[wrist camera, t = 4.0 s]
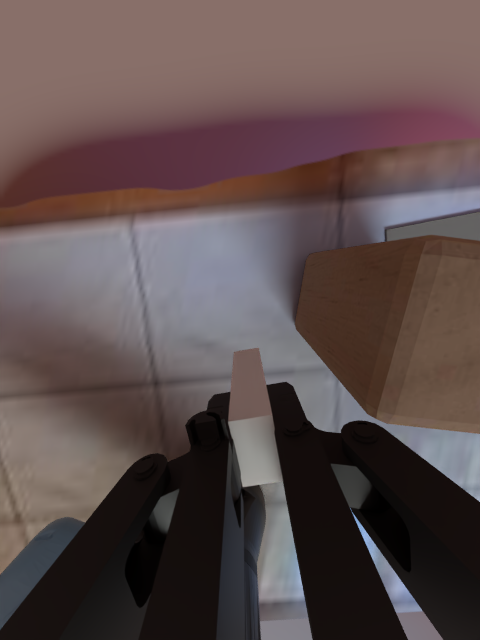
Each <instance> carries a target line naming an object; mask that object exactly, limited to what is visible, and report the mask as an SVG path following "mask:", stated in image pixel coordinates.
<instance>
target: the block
mask: <svg viewBox="0 0 480 640" xmlns="http://www.w3.org/2000/svg"><path fill="white" fill-rule="evenodd" d="M295 326H296V330H297V331H298V332H299V333H300V334H301V336H302V337H303V338H304V339H305V340H306V342H307V343H308V344H309V345H310V346H311V348H312V349H313V350H314V351H315V352H316V353H317V355H318V356H319V357H320V358H321V359H322V361H323V362H324V363H325V364H326V365H327V367H328V368H329V369H330V370H331V371H332V372H333V374H334V375H335V376H336V377H337V378H338V380H339V381H340V382H341V383H342V384H343V386H344V387H345V388H346V389H347V390H348V391H349V393H350V394H351V395H352V396H353V397H354V399H355V400H356V401H357V402H358V403H359V405H360V406H361V407H362V408H363V409H364V410H365V412H366V413H367V414H368V415H370V416H372V417H374V418H375V419H378V420H380V421H382V422H385V423H387V424H396V425H405V426H414V427H423V428H432V429H441V430H450V431H460V432H469V433H478V434H480V241H477V240H469V239H462V238H454V237H446V236H438V235H426V236H419V237H413V238H406V239H400V240H393V241H387V242H380V243H374V244H367V245H361V246H355V247H348V248H342V249H335V250H329V251H322V252H316V253H312V254H309V256H308V258H307V259H306V264H305V269H304V275H303V281H302V286H301V292H300V298H299V303H298V309H297V315H296V320H295Z"/></svg>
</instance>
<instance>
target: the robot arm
mask: <svg viewBox="0 0 480 640" xmlns="http://www.w3.org/2000/svg"><path fill="white" fill-rule="evenodd" d="M185 426H186V430H187V433H188V437H189V441H190V444H191V448H190V452H188V453H187V454H185V455H183V456H181V457H179V458H176V459H174V460H171V461H169V462H167V459H166V457H165V456H164V455H162V454H158V453H157V454H150V455H147V456H145V457H142V458H141V459H139V460H138V461H136V462H135V463H134V464H133V465H132V466H131V467H130V468H129V469H128V470H127V471H126V472H125V474H124V475H123V476H122V477H121V479H120V480H119V481H118V482H117V484H116V485H115V486H114V487H113V489H112V490H111V491H110V492H109V494H108V495H107V496H106V498H105V499H104V500H103V501H102V503H101V504H100V505H99V506H98V508H97V509H96V510H95V511H94V513H93V514H92V515H91V516H90V518H89V519H88V520H87V521H86V523H85V522H82V521H80V520H77V519H74V518H71V517H64V518H60V519H57V520H55V521H53V522H52V523H50V524H49V525H47V526H46V527H45V528H44V529H43V530H41V531H40V532H39V533H38V534H37V535H36V536H35V537H34V538H33V539H32V540H31V542H30V543H29V544H28V545H27V546H26V547H25V548H24V549H23V550H22V551H21V552H20V553H19V555H18V556H17V557H16V558H15V559H14V560H13V561H12V562H11V563H10V564H9V566H8V567H7V568H6V569H5V570H4V571H3V572H2V573H1V575H0V640H261V632H260V614H259V596H258V580H257V561H258V556H259V551H260V546H261V542H262V537H263V532H264V528H265V522H266V512H265V501H264V496H263V493H262V491H261V489H260V488H259V486H258V485H261V484H268V483H275V482H282V481H283V484H284V489H285V495H286V500H287V506H288V512H289V516H290V522H291V527H292V532H293V538H294V543H295V548H296V554H297V559H298V564H299V570H300V575H301V580H302V586H303V591H304V596H305V601H306V607H307V612H308V617H309V623H310V628H311V633H312V638H313V640H408V639H407V637H406V634H405V633H404V630H403V628H402V625H401V623H400V621H399V619H398V616H397V614H396V612H395V609H394V607H393V605H392V603H391V600H390V598H389V596H388V594H387V591H386V589H385V587H384V584H383V582H382V580H381V578H380V575H379V573H378V571H377V569H376V566H375V564H374V562H373V559H372V557H371V555H370V553H369V550H368V548H367V546H366V544H365V541H364V539H363V537H362V535H361V532H360V530H359V528H358V525H357V523H356V521H355V519H354V516H353V514H354V515H355V516H356V518H357V519H358V521H359V522H360V523H361V525H362V526H363V528H364V529H365V530H366V532H367V533H368V535H369V536H370V537H371V539H372V540H373V542H374V543H375V544H376V546H377V547H378V549H379V550H380V551H381V553H382V554H383V556H384V557H385V558H386V560H387V561H388V563H389V564H390V565H391V567H392V568H393V570H394V571H395V572H396V574H397V575H398V577H399V578H400V579H401V581H402V582H403V584H404V585H405V586H406V588H407V589H408V591H409V592H410V593H411V595H412V596H413V598H414V599H415V600H416V602H417V603H418V605H419V606H420V607H421V609H422V610H423V612H424V613H425V614H426V616H427V617H428V619H429V620H430V621H431V623H432V624H433V626H434V627H435V629H436V630H437V631H438V633H439V634H440V635H441V637H442V638H443V640H480V502H479V501H478V500H476V499H475V498H474V497H473V496H471V495H470V494H469V493H467V492H466V491H465V490H463V489H462V488H461V487H460V486H458V485H457V484H456V483H454V482H453V481H452V480H450V479H449V478H448V477H446V476H445V475H444V474H443V473H441V472H440V471H439V470H437V469H436V468H435V467H433V466H432V465H431V464H429V463H428V462H427V461H426V460H424V459H423V458H422V457H420V456H419V455H418V454H416V453H415V452H414V451H413V450H411V449H410V448H409V447H407V446H406V445H405V444H403V443H402V442H401V441H399V440H398V439H397V438H396V437H394V436H393V435H392V434H390V433H389V432H388V431H386V430H385V429H384V428H382V427H380V426H379V425H377V424H375V423H371V422H368V421H352V422H349V423H347V424H345V425H344V426H343V428H342V429H341V433H332V432H325V431H321V430H318V429H316V428H315V427H314V426H313V425H312V423H311V422H310V421H308V420H307V418H306V416H305V413H304V411H303V409H302V406H301V404H300V402H299V399H298V397H297V395H296V392H295V390H294V387H293V386H292V385H290V384H289V383H288V382H282V383H276V384H270V385H266V382H265V377H264V372H263V367H262V362H261V357H260V352H259V348H254V349H248V350H242V351H237V352H234V357H233V369H232V381H231V392H227V393H221V394H215V395H214V396H213V397H212V398H211V399H210V400H209V402H208V407H207V410H206V411H203V412H200V413H198V414H196V415H194V416H193V417H192V418H190V419H189V420H188V422H187V423H186V425H185ZM350 508H351V510H352V512H353V514H352V512H351V510H350Z"/></svg>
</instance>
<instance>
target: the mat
mask: <svg viewBox="0 0 480 640" xmlns="http://www.w3.org/2000/svg"><path fill="white" fill-rule="evenodd" d="M426 235H438V236H446V237H454V238H462V239H469V240H477V241H480V212H476V213H471V214H466V215H461V216H456V217H450V218H445V219H440V220H435V221H430V222H425V223H419V224H414V225H409V226H404V227H399V228H394V229H388V230H385V238H386V242H387V241H393V240H400V239H406V238H413V237H419V236H426Z"/></svg>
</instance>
